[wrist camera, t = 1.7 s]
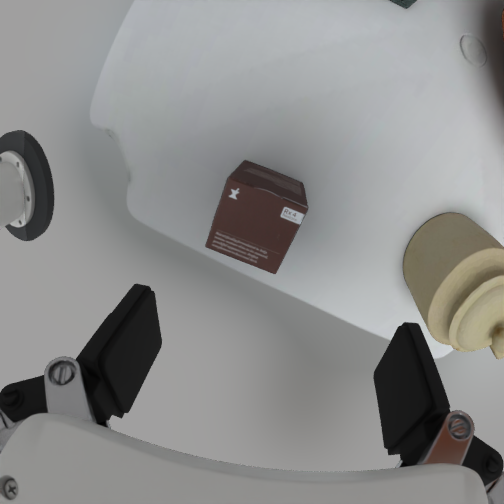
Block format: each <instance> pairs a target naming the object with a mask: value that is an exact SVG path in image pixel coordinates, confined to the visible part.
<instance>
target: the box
mask: <svg viewBox="0 0 504 504" xmlns="http://www.w3.org/2000/svg"><path fill="white" fill-rule="evenodd" d="M307 211H308V205H307V200H306V194H305V188H304V185H303V183H302V182H299V181H297V180H294V179H292V178H290V177H287V176H285V175H283V174H280V173H278V172H275V171H273V170H270V169H268V168H265V167H262V166H260V165H257V164H254V163H252V162H249V161H247V160H245V161H243V162H242V163H241V165H239V167H238V168H237V169H236V170H235V171H234V172H233V173H231V175H230V176H229V177H228V178H227V181H226V184H225V187H224V190H223V193H222V196H221V199H220V202H219V205H218V208H217V210H216V213H215V216H214V220H213V223H212V226H211V230H210V233H209V236H208V239H207V242H206V245H205V247H207V248H209V249H212V250H214V251H217V252H219V253H222V254H224V255H227V256H229V257H232V258H234V259H237V260H240V261H242V262H245V263H247V264H250V265H253V266H255V267H258V268H260V269H263V270H265V271H268V272H270V273H273V274H276V273H277V271H278V269H279V267H280V265H281V263H282V261H283V259H284V257H285V255H286V253H287V251H288V249H289V247H290V245H291V243H292V241H293V239H294V237H295V235H296V233H297V231H298V229H299V227H300V225H301V223H302V221H303V219H304V217H305V214H306V213H307Z"/></svg>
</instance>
